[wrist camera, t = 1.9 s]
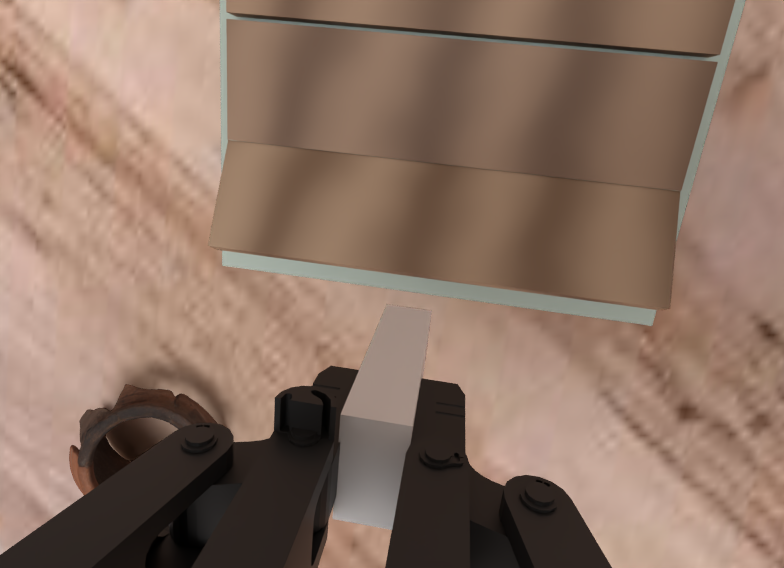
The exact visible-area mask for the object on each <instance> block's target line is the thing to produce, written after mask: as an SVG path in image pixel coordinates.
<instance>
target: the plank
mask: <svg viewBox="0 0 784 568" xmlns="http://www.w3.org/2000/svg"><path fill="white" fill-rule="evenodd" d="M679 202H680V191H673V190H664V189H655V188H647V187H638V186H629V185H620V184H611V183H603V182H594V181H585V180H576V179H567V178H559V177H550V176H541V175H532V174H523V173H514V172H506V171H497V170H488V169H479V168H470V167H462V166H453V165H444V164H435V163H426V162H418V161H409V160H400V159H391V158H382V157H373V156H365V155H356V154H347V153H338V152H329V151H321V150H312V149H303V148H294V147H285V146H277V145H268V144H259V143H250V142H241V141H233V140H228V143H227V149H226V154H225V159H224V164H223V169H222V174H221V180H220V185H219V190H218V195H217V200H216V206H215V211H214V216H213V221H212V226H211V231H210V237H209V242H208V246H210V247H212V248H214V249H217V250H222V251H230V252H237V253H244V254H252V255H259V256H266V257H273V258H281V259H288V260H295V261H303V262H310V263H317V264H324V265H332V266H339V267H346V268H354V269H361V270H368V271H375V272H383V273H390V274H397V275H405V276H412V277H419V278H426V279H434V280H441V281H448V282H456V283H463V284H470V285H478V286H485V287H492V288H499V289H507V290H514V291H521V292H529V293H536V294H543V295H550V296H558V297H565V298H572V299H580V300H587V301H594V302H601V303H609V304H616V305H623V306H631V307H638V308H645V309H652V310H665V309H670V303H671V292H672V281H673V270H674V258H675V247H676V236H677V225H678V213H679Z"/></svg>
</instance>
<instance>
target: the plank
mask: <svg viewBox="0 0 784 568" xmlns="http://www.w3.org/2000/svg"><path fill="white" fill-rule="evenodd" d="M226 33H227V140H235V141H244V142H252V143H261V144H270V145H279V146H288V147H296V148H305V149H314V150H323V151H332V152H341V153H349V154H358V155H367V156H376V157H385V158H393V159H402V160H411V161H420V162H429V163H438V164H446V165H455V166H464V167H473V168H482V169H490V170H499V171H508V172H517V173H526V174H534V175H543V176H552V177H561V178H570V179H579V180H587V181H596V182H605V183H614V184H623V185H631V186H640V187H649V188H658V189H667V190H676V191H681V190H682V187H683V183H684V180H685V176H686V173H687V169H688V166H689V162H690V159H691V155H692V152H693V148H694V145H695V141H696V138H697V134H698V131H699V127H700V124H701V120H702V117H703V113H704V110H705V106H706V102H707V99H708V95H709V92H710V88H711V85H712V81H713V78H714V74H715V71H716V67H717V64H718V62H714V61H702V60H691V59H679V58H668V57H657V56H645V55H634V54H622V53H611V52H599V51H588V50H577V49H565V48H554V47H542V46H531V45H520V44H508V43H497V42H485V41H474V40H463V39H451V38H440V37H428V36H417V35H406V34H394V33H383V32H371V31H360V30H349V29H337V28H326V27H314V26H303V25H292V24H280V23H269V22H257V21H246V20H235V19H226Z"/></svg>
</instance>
